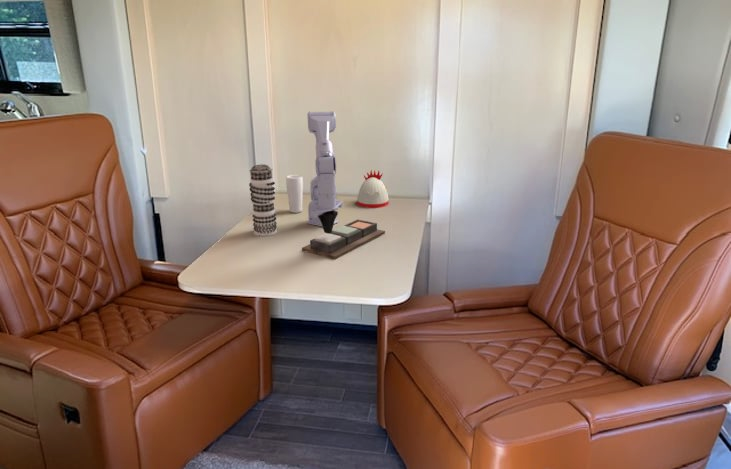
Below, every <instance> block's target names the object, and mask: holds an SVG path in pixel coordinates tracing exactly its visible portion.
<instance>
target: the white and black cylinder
mask: <svg viewBox="0 0 731 469" xmlns="http://www.w3.org/2000/svg"><path fill="white" fill-rule="evenodd" d="M272 171H273V168H271V167H270V166H269V165H268V164H256V165H253V166H252V167H251V169H249V172H250V183H249V184H248V186H249V191H250V200H251V204H252V208H253V209H252V218H253V219H252V221H253V224H252V225H253V230H254V231H253V234H254V235H256V236H259V235H260V236H259V237H267V236H272V235H275V234H277V232H278V231H277V228H278V227H277V221H276V220H277V217H276V215H277V213H276V208H275V204H274V203H275V202H276V197H275V196H274V195H275V193H276V191H274V190H276V189H275V188H276V187H274V185H275V183H276V182H275V181H274V179H273V173H272Z"/></svg>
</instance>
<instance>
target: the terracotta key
mask: <svg viewBox="0 0 731 469" xmlns="http://www.w3.org/2000/svg"><path fill="white" fill-rule="evenodd" d="M370 225H372V224H368V223H363V222H356V223H354V224H352V225H350V226H353V227H358V228H362V229H363V228H366V227H368V226H370Z"/></svg>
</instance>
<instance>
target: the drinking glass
mask: <svg viewBox="0 0 731 469" xmlns="http://www.w3.org/2000/svg"><path fill="white" fill-rule="evenodd" d="M285 178H286V180H285V181H286V191H287V192H286V193H287V197H288V198H287V199H288V205H289V212H290V213H292V214H299V213H302V212H303V199H304V198H303V196H304V195H303V194H304V179H303V175H301V174H289V175H287V176H286V177H285Z"/></svg>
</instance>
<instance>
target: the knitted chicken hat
mask: <svg viewBox="0 0 731 469" xmlns="http://www.w3.org/2000/svg"><path fill="white" fill-rule="evenodd" d="M366 175H367V177H366V176H365V175H364V174H363V177H364V179H365V180H364V181H363V183H362V184H361V186H360V187H359V191H358V194H357V201H356V205H358V206H359V207H362V208H368V209H369V208H370V209H376V208H383V207H386V206H388V205H389V201H390V200H389V194H388V191H387V187H386V186H385V184H384V183H383V181H382V180H381V178H382V177H383V172H382V173H381V174H380V170H378V171H377V173H376V170H375V169H374V171H373V172H372V169H371V170H370V173H369V172H366Z"/></svg>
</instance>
